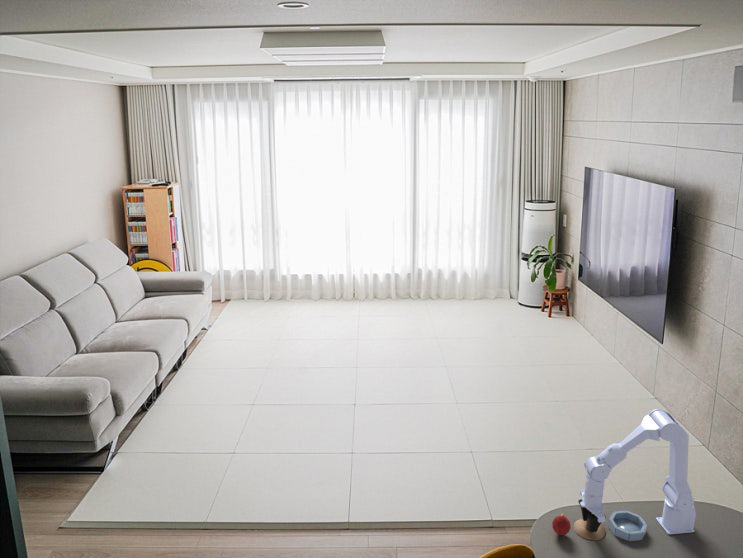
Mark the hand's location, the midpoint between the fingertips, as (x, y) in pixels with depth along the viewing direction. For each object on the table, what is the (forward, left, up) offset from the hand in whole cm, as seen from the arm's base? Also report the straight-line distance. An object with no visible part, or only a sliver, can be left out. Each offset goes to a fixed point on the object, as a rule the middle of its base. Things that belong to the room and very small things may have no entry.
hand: (589, 525), depth 217 cm
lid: (0, 0, -2) cm, 2 cm away
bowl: (-12, +2, -2) cm, 13 cm away
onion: (+10, +1, -2) cm, 11 cm away
